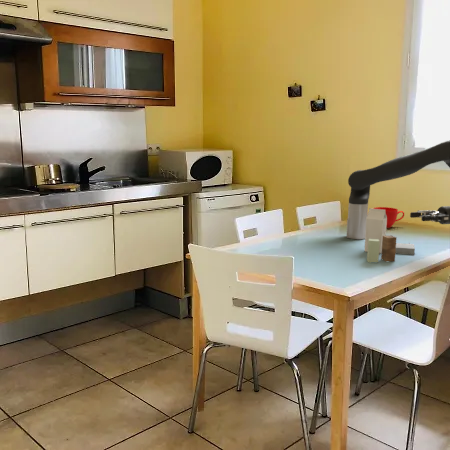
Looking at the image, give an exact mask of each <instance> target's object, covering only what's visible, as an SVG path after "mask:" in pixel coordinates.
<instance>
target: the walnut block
mask: <svg viewBox="0 0 450 450" xmlns="http://www.w3.org/2000/svg"><path fill="white" fill-rule="evenodd" d="M396 243H397V236H394V235H391V234H390V235H386V236H383V239H382V253H381V255H380V256H381V257H380V259H381V260H382V259H383V260H382V261H384V262H386V261H389V262H395V261H396V253H395V252H396Z"/></svg>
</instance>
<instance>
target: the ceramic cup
mask: <svg viewBox="0 0 450 450" xmlns="http://www.w3.org/2000/svg"><path fill="white" fill-rule="evenodd" d="M372 209H383V210H385V212H386V216H387V226H386V229H390V228H392V227H393V226H394V224H395V223H396V222H398V221H402V219H403V218H404V217H405V212H404V211H402V210H400V211H399V210H398V209H397V208H394V207H387V206H385V207H384V206H379V207H378V206H377V207H373V208H372ZM400 213H402V216H401V217H399V218H398V215H399V214H400ZM397 218H398V219H397Z"/></svg>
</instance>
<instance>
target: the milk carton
mask: <svg viewBox="0 0 450 450" xmlns="http://www.w3.org/2000/svg"><path fill="white" fill-rule="evenodd" d="M386 226H387V216H386V212H385V210H383V209H373V208H372V207H371V208H370V207H368V214H367V218H366V234H365V239H364V252H366V253H367V250H368V239H378V240H379V241H380V242H379V254H382V239H383V236H387V228H386Z"/></svg>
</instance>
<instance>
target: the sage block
mask: <svg viewBox="0 0 450 450" xmlns="http://www.w3.org/2000/svg"><path fill="white" fill-rule="evenodd" d="M379 242H380V241H379V240H378V239H368V250H367V252H366V262H367V263H371V262H378V263H379V258H380V257H379V254H380V253H379Z"/></svg>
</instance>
